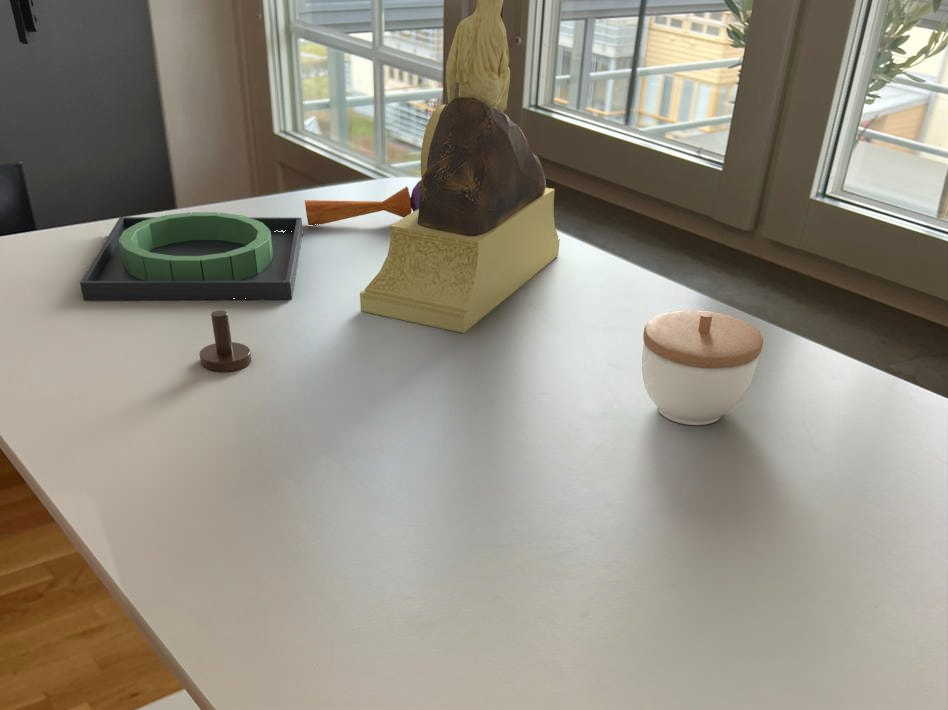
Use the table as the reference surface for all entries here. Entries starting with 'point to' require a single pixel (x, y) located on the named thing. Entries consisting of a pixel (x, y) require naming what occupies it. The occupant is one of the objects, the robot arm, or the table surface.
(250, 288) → the tray
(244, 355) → the peg stand
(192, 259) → the ring
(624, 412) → the table surface
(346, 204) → the kendama
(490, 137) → the statue on pedestal
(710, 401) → the trinket box
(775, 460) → the table surface
